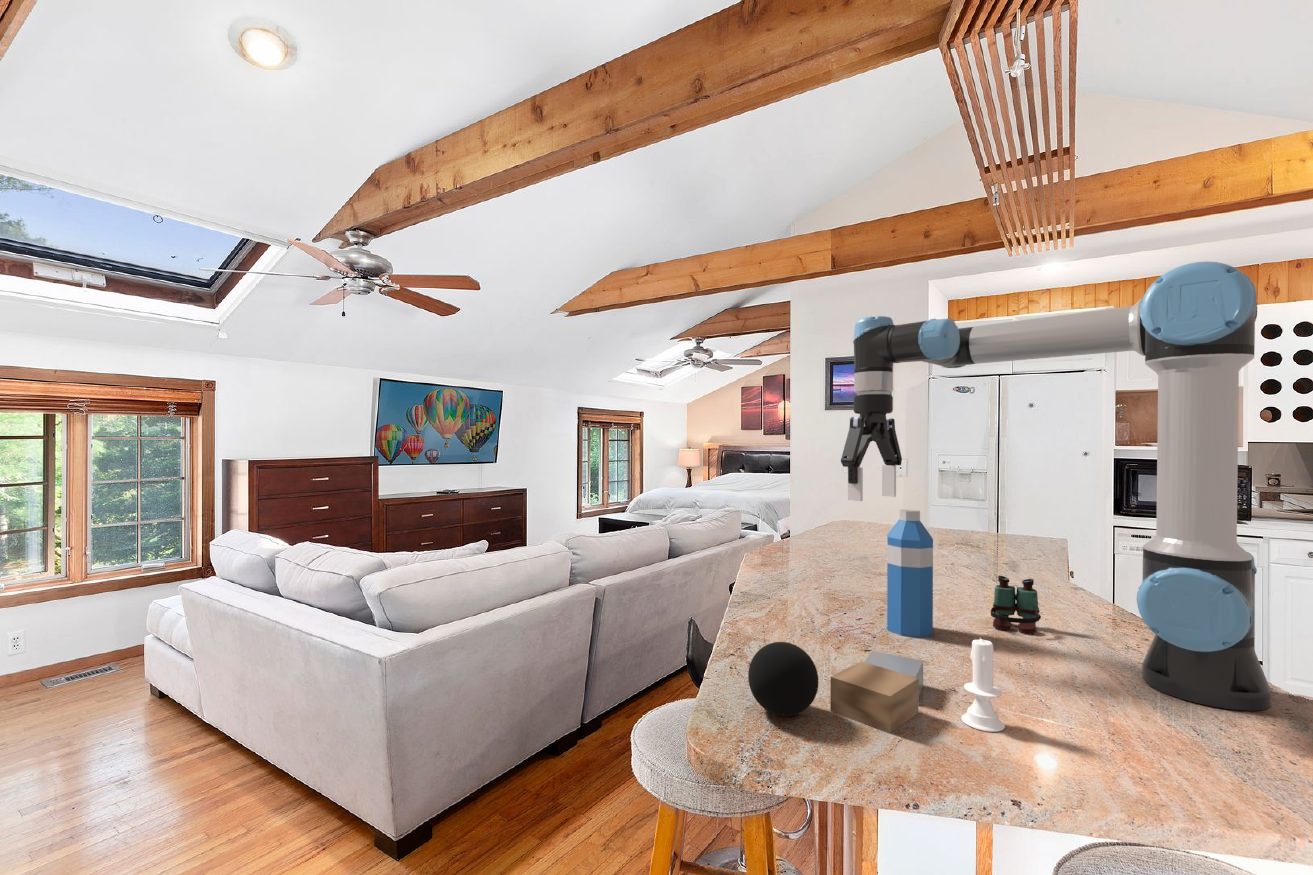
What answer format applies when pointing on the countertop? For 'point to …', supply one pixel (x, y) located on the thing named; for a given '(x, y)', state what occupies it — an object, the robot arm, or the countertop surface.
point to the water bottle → (910, 577)
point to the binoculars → (1015, 606)
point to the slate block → (898, 664)
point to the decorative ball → (783, 678)
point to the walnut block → (875, 696)
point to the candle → (982, 690)
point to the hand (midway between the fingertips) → (872, 498)
